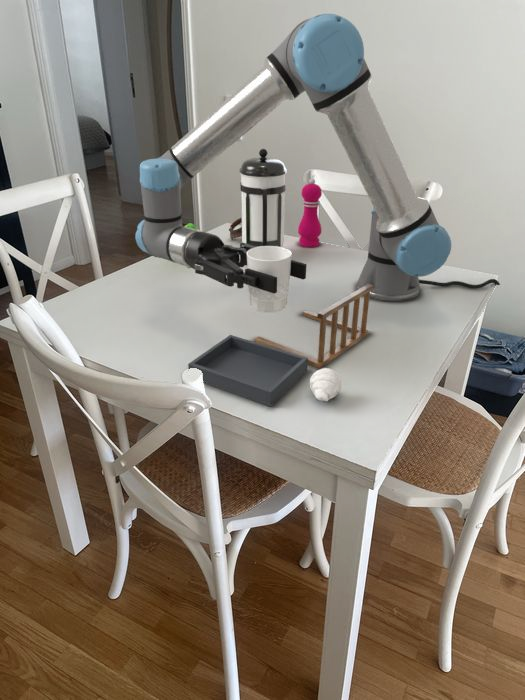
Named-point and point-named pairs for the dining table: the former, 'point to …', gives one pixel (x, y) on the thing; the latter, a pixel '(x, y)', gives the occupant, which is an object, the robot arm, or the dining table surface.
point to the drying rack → (334, 327)
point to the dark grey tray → (250, 369)
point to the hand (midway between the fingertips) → (290, 278)
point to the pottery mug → (236, 232)
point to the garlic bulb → (325, 384)
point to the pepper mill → (310, 215)
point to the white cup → (273, 264)
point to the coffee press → (263, 201)
